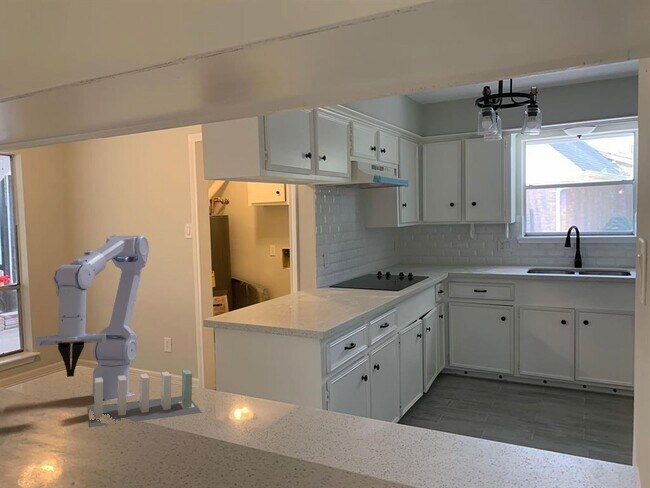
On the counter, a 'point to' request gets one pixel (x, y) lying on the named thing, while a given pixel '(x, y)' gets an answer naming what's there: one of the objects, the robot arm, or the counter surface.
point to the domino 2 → (121, 395)
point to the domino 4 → (165, 390)
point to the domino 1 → (98, 398)
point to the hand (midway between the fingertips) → (70, 375)
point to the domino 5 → (187, 388)
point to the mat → (154, 412)
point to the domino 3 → (144, 393)
